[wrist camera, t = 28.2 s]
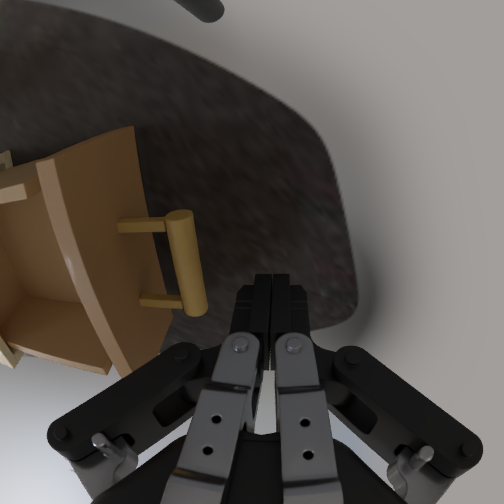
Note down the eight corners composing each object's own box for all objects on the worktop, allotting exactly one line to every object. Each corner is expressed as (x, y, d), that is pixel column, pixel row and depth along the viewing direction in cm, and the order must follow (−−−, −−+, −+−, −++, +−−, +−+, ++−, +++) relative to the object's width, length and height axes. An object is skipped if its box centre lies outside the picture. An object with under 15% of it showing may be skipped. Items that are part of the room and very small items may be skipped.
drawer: (201, 116, 15) (146, 139, 9) (225, 319, 22) (207, 401, 16) (-15, 166, 17) (-74, 202, 11) (33, 300, 24) (-4, 348, 18)
